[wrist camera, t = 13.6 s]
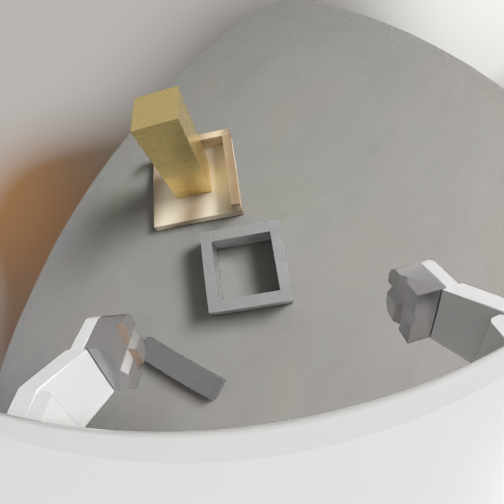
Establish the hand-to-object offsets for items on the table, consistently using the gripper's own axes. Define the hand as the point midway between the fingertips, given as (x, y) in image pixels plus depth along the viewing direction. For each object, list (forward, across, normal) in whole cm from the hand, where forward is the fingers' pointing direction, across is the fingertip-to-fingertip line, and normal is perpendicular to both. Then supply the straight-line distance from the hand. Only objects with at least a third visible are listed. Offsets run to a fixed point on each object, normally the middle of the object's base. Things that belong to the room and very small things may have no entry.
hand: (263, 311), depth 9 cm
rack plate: (+32, +6, +3) cm, 32 cm away
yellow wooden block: (+31, +6, +2) cm, 31 cm away
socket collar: (+23, +1, +12) cm, 26 cm away
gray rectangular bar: (+16, +10, +20) cm, 28 cm away
